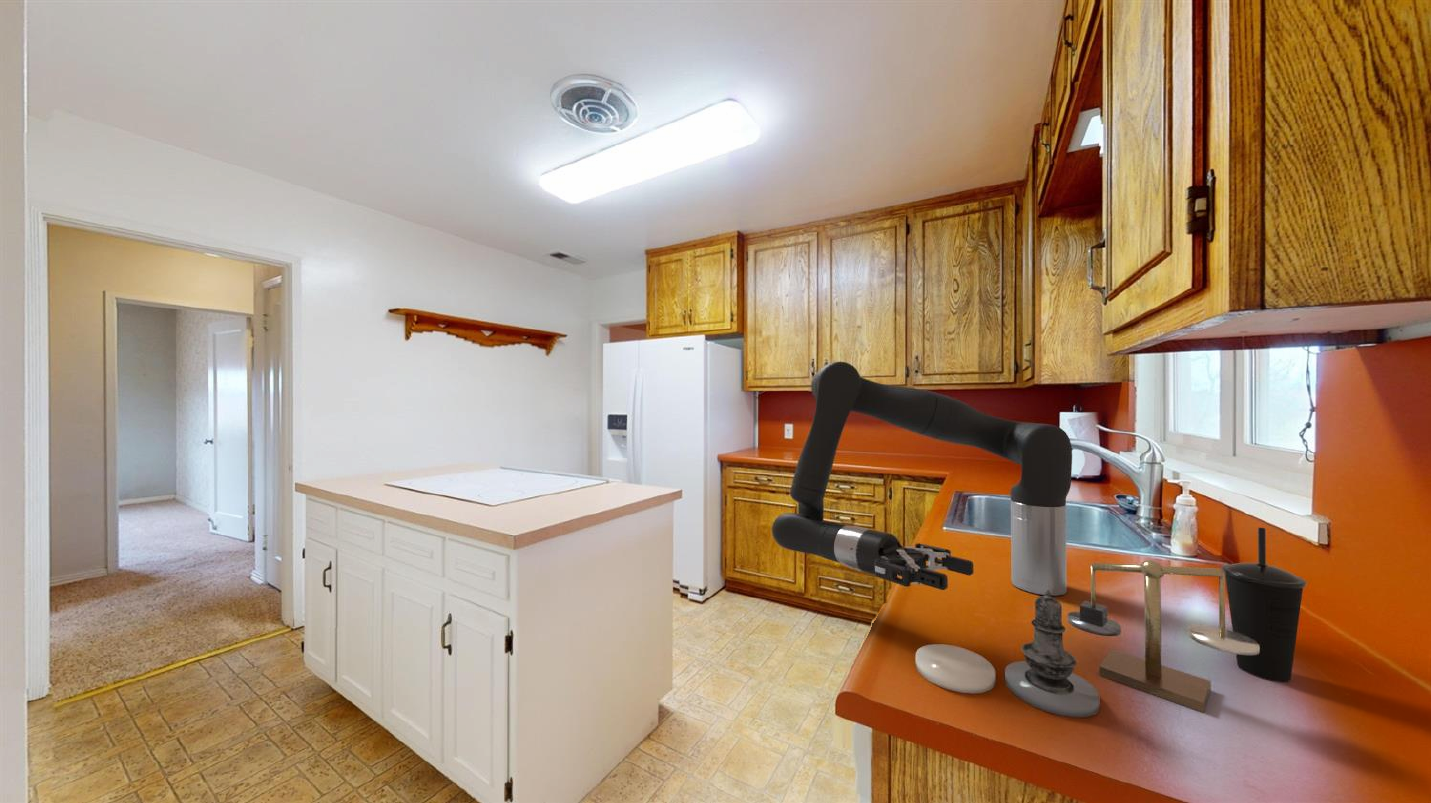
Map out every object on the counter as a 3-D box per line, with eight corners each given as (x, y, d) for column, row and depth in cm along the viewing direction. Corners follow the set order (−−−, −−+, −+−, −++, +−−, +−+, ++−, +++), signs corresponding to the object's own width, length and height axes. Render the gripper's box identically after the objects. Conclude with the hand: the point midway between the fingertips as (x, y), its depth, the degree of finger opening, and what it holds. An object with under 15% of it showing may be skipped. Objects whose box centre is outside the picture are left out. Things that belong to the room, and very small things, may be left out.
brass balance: (1076, 645, 72) (1074, 535, 72) (1262, 706, 57) (1260, 568, 57) (1061, 661, 68) (1060, 544, 68) (1258, 732, 53) (1256, 583, 53)
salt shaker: (1086, 698, 58) (1086, 602, 57) (1032, 692, 59) (1032, 597, 59) (1063, 671, 63) (1062, 583, 63) (1014, 665, 65) (1014, 579, 65)
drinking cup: (1271, 659, 68) (1270, 522, 68) (1326, 691, 60) (1325, 537, 60) (1207, 653, 69) (1206, 519, 69) (1253, 684, 62) (1252, 534, 62)
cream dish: (936, 645, 73) (936, 637, 73) (1007, 674, 65) (1007, 665, 65) (901, 668, 67) (901, 659, 67) (975, 703, 59) (975, 694, 59)
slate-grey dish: (1021, 661, 68) (1021, 653, 68) (1109, 694, 60) (1109, 685, 60) (992, 688, 62) (992, 679, 62) (1086, 729, 54) (1086, 719, 54)
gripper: (841, 537, 79) (936, 561, 66) (888, 522, 88) (979, 541, 75) (842, 581, 79) (937, 614, 66) (889, 562, 88) (980, 587, 75)
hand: (960, 575), depth 71 cm, fingers open, 8 cm apart
